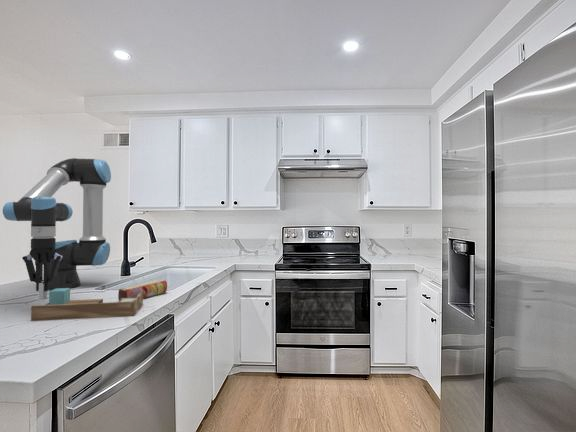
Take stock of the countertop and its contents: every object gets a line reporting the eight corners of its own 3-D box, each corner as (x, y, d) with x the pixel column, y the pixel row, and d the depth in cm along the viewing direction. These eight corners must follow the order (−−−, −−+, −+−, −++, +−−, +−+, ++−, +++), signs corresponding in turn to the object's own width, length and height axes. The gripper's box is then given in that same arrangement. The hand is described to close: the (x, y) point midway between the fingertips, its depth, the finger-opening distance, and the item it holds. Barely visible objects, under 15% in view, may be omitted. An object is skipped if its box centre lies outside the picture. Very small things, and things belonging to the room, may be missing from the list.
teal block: (55, 301, 126) (55, 288, 126) (69, 300, 127) (70, 287, 127) (49, 304, 121) (49, 291, 121) (64, 304, 122) (64, 291, 122)
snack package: (126, 304, 134) (126, 288, 134) (116, 302, 137) (116, 286, 137) (167, 293, 153) (168, 279, 153) (158, 291, 156) (158, 277, 156)
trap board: (52, 308, 127) (52, 295, 127) (142, 304, 134) (142, 292, 134) (30, 320, 112) (31, 306, 112) (133, 315, 119) (133, 302, 119)
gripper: (17, 238, 118) (16, 303, 118) (57, 238, 120) (57, 301, 120) (29, 236, 125) (28, 297, 125) (67, 236, 128) (66, 296, 128)
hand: (42, 299), depth 123 cm, fingers closed
